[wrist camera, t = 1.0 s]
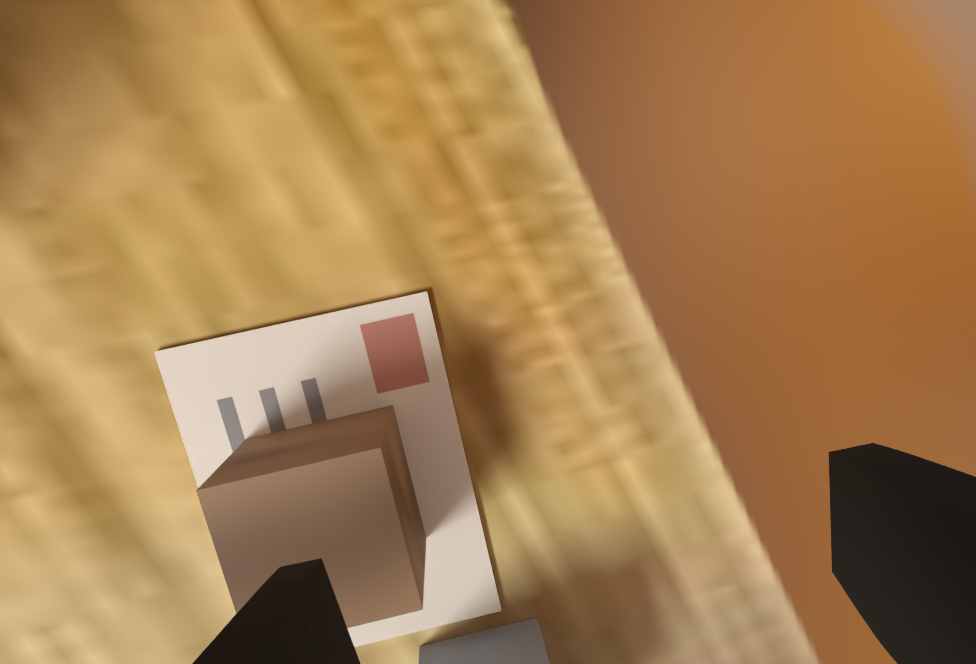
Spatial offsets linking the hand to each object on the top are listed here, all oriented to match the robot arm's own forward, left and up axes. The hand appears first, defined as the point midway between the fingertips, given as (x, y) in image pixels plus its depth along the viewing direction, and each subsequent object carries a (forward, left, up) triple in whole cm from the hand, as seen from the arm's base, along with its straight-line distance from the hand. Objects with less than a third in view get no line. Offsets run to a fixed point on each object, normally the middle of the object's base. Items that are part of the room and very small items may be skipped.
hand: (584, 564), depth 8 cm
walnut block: (-3, +6, -12) cm, 14 cm away
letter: (-3, +6, -12) cm, 14 cm away
